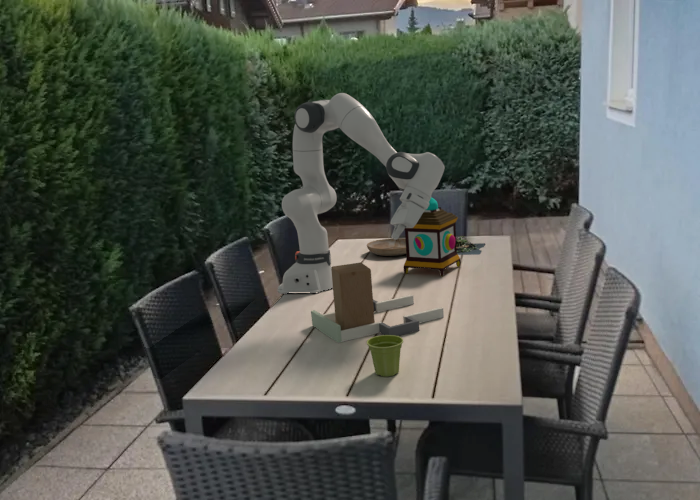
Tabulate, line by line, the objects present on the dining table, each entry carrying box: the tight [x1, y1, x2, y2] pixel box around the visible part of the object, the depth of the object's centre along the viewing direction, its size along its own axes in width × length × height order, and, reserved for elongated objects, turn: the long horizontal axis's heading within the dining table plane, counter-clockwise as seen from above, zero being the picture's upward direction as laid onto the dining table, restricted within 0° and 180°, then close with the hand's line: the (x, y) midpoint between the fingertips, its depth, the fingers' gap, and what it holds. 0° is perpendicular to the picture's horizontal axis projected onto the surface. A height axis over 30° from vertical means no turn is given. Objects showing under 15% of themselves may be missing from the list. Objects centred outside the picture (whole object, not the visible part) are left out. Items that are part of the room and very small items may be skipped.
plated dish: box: [456, 235, 486, 256], centre depth 310 cm, size 35×28×7 cm
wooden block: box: [331, 262, 376, 331], centre depth 210 cm, size 10×10×20 cm
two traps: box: [373, 299, 420, 337], centre depth 219 cm, size 10×31×3 cm, turn 26°
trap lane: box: [310, 294, 445, 344], centre depth 218 cm, size 37×19×5 cm, turn 116°
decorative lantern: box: [403, 196, 462, 277], centre depth 274 cm, size 20×20×30 cm
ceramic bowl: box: [366, 237, 406, 257], centre depth 312 cm, size 23×24×5 cm
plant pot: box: [366, 334, 404, 378], centre depth 177 cm, size 9×9×9 cm
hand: (393, 238), depth 221 cm, fingers closed
